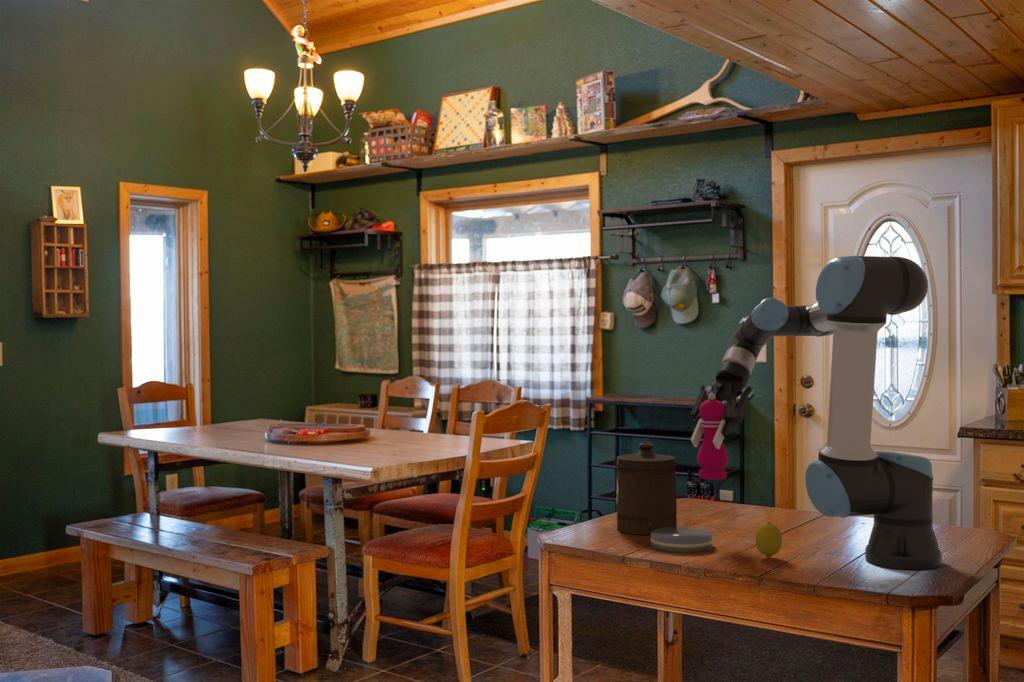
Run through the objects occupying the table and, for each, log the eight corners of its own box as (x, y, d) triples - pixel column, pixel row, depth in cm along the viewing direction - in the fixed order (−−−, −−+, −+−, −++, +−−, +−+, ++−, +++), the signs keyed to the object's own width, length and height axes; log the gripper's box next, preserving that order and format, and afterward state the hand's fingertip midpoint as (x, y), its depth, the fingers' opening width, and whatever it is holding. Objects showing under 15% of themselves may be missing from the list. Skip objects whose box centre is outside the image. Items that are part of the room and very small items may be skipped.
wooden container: (643, 521, 256) (643, 436, 255) (688, 529, 244) (688, 441, 244) (604, 529, 246) (603, 441, 246) (649, 538, 235) (649, 446, 234)
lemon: (781, 556, 215) (781, 519, 215) (781, 561, 210) (781, 524, 209) (756, 554, 216) (755, 518, 216) (755, 560, 211) (755, 523, 211)
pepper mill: (727, 475, 234) (726, 391, 234) (730, 480, 227) (728, 394, 227) (696, 475, 235) (695, 392, 235) (698, 480, 228) (697, 394, 228)
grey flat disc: (724, 549, 222) (724, 536, 222) (670, 555, 217) (670, 541, 217) (691, 537, 235) (691, 524, 235) (639, 542, 230) (639, 529, 230)
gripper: (774, 381, 237) (745, 457, 224) (707, 379, 248) (676, 451, 236) (765, 360, 233) (735, 436, 220) (697, 359, 244) (664, 432, 231)
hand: (704, 444), depth 228 cm, fingers closed on pepper mill, 5 cm apart
